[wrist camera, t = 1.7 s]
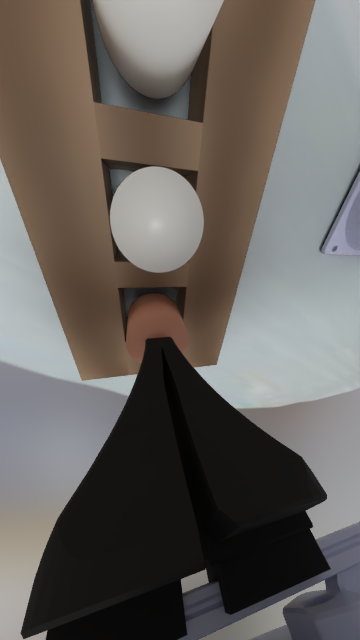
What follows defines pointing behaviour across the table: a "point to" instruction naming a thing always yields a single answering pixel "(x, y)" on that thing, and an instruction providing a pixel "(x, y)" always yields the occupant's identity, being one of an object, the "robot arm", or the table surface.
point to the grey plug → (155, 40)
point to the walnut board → (140, 163)
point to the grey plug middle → (156, 219)
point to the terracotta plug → (154, 323)
